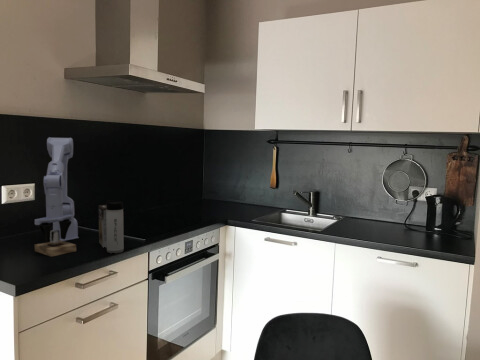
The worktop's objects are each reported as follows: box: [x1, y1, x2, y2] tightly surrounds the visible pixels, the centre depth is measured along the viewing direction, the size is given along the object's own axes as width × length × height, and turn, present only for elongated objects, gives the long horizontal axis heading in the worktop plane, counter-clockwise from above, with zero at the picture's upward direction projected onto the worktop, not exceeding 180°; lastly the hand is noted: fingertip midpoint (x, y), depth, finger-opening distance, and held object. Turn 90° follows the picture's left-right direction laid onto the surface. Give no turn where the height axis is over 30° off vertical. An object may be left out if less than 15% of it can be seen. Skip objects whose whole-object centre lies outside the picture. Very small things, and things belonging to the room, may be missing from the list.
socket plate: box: [34, 240, 77, 258], centre depth 154 cm, size 10×12×2 cm
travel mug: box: [105, 199, 125, 254], centre depth 154 cm, size 6×7×20 cm
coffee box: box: [98, 204, 107, 248], centre depth 164 cm, size 9×6×16 cm
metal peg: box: [50, 229, 60, 247], centre depth 154 cm, size 3×3×8 cm
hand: (55, 240), depth 154 cm, fingers open, 6 cm apart
